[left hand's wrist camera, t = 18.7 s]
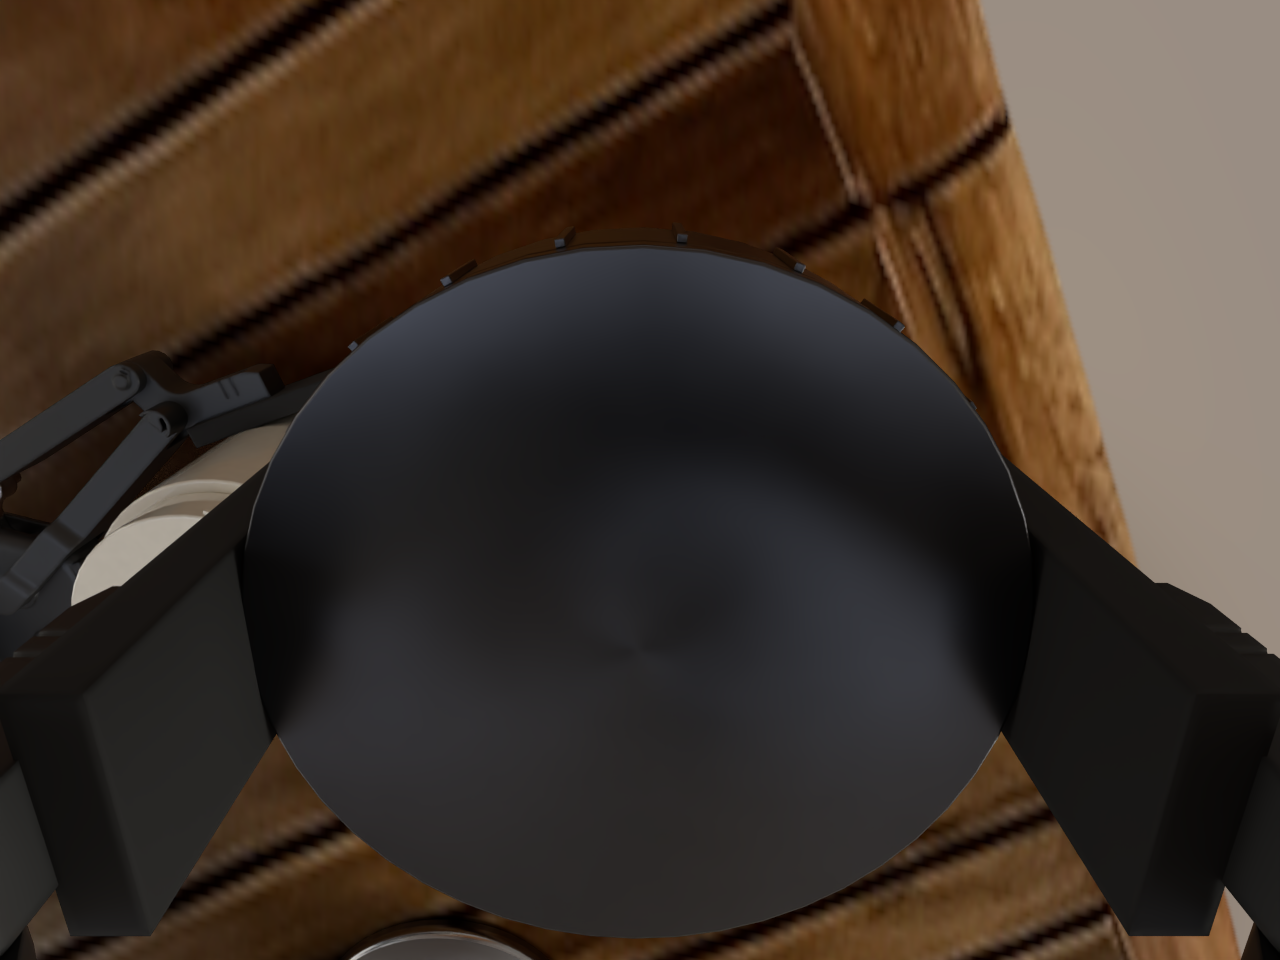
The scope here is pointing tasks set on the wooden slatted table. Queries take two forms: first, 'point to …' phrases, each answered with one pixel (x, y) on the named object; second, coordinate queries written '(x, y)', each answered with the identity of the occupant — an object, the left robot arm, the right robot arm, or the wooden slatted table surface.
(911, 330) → the wooden slatted table surface
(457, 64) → the wooden slatted table surface
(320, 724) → the lid
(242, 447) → the jar
